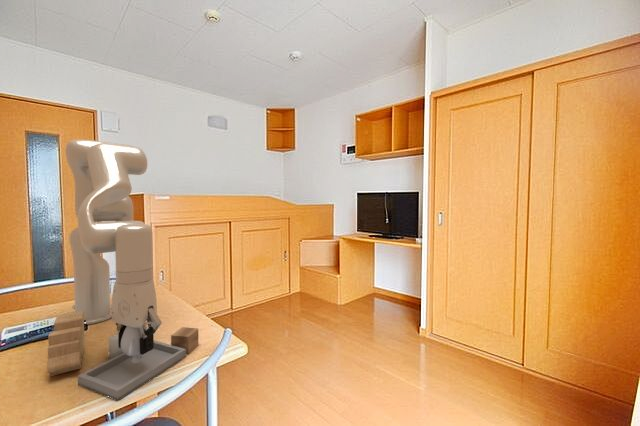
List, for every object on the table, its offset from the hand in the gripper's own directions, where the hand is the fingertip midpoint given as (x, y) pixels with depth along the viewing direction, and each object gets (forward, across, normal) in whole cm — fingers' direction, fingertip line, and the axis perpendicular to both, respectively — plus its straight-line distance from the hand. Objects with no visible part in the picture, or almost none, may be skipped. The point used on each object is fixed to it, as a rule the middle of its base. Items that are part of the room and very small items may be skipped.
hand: (136, 347), depth 71 cm
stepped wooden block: (+6, -19, -4) cm, 20 cm away
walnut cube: (+6, +3, +12) cm, 14 cm away
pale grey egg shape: (+6, -10, +3) cm, 12 cm away
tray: (+6, 0, 0) cm, 6 cm away
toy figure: (+3, 0, 0) cm, 3 cm away
